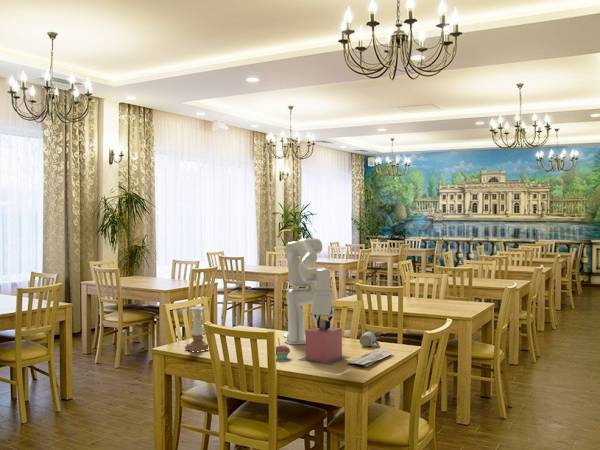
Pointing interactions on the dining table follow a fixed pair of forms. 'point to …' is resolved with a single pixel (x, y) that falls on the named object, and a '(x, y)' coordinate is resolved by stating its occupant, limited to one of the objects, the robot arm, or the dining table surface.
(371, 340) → the ceramic mug
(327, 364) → the mat
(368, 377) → the dining table surface
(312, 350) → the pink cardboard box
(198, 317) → the candle holder
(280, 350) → the cupcake
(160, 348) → the dining table surface
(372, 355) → the newspaper
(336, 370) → the dining table surface
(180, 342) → the dining table surface
